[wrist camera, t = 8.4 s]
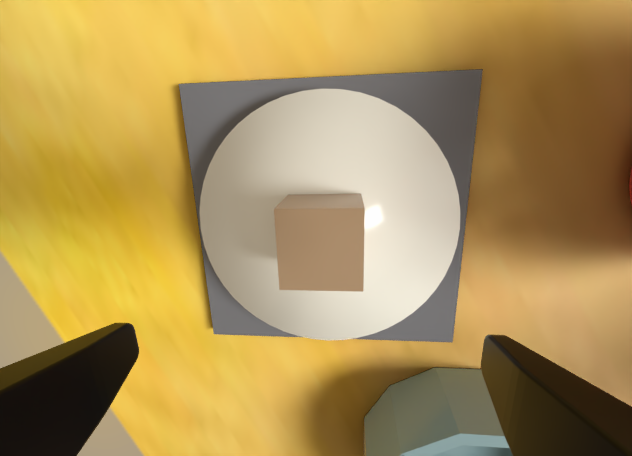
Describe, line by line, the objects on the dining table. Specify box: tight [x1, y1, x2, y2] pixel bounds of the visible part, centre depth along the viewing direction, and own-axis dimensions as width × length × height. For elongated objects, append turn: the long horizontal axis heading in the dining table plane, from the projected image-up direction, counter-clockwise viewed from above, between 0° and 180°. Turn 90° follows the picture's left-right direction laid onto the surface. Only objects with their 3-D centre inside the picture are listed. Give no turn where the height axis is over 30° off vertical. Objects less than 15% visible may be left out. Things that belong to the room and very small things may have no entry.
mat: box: [179, 69, 483, 342], centre depth 19 cm, size 16×16×1 cm
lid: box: [200, 89, 460, 340], centre depth 17 cm, size 15×15×5 cm
